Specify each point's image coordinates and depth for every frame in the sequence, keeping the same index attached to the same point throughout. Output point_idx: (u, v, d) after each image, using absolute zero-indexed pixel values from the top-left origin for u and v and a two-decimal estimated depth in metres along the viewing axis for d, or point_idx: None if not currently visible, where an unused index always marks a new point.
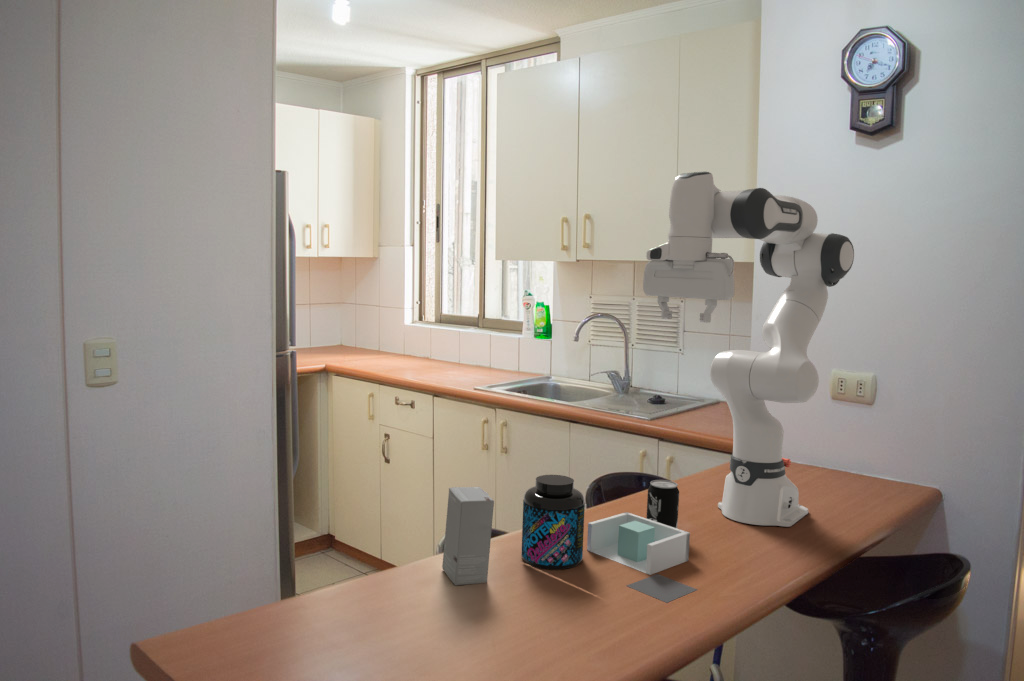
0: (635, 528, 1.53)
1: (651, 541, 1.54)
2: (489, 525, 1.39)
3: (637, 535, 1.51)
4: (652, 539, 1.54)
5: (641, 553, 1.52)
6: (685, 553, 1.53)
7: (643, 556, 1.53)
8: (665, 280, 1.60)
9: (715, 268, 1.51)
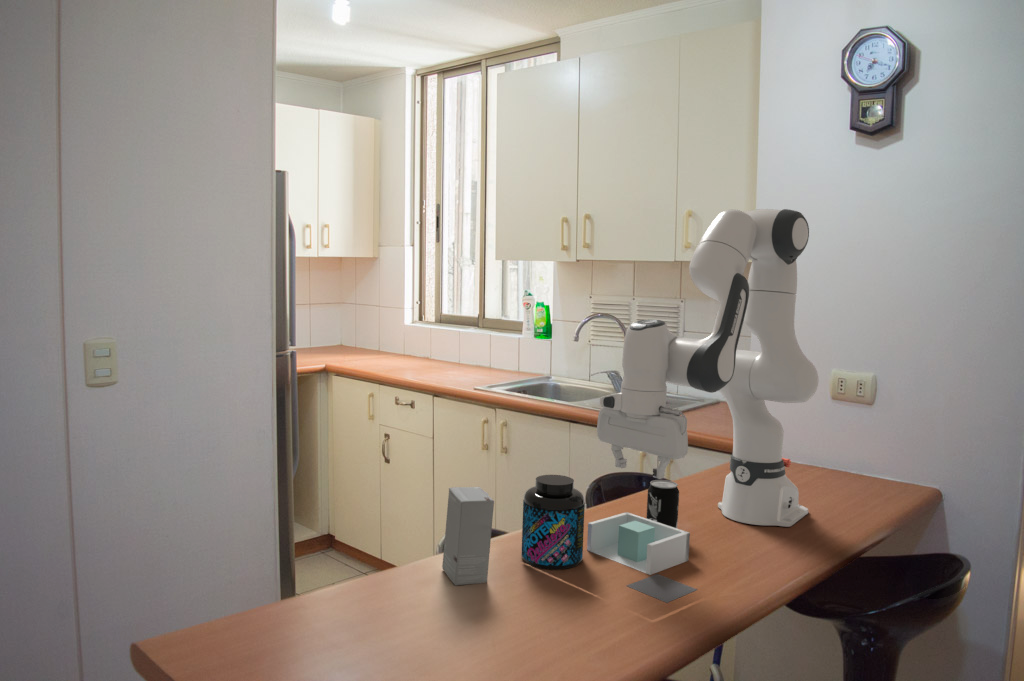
0: (635, 528, 1.53)
1: (651, 541, 1.54)
2: (489, 525, 1.39)
3: (637, 535, 1.51)
4: (652, 539, 1.54)
5: (641, 553, 1.52)
6: (685, 553, 1.53)
7: (643, 556, 1.53)
8: (618, 429, 1.55)
9: (668, 426, 1.46)
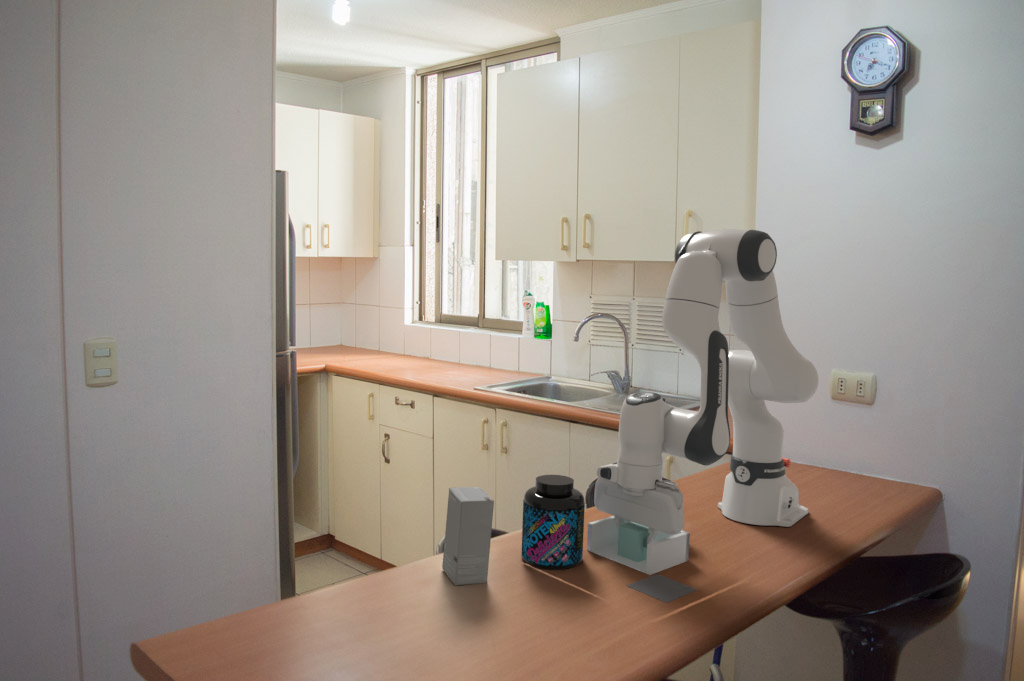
0: (635, 528, 1.53)
1: None
2: (489, 525, 1.39)
3: (637, 535, 1.51)
4: None
5: (641, 553, 1.52)
6: (685, 553, 1.53)
7: (643, 556, 1.53)
8: (615, 500, 1.56)
9: (664, 501, 1.47)
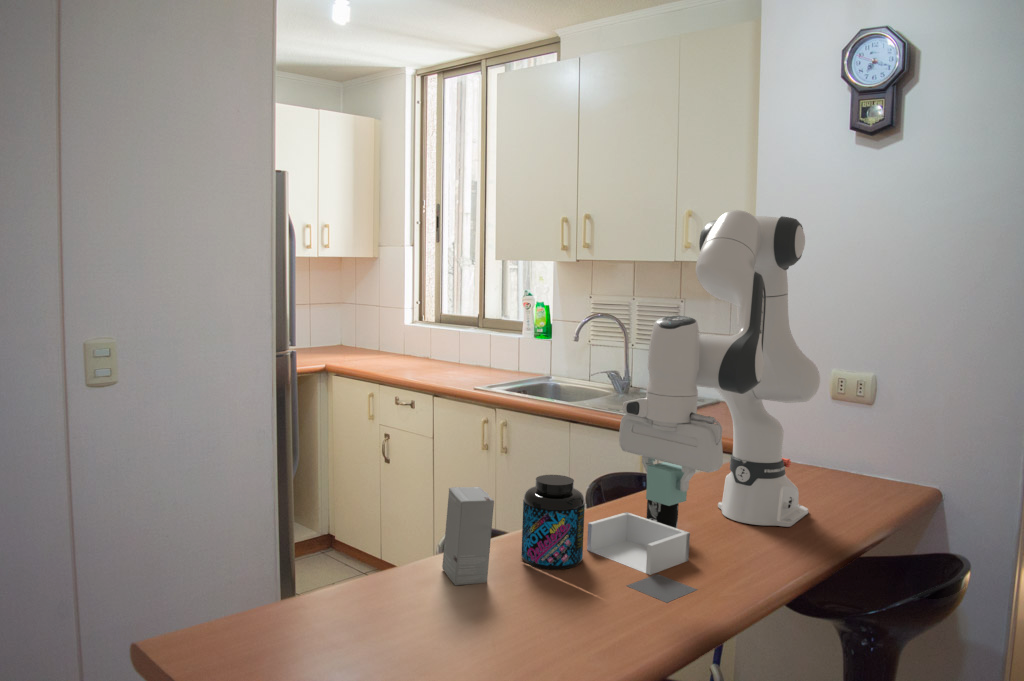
0: (666, 468, 1.37)
1: None
2: (489, 525, 1.39)
3: (668, 475, 1.35)
4: None
5: (673, 496, 1.35)
6: (685, 553, 1.53)
7: (675, 499, 1.36)
8: (644, 438, 1.39)
9: (700, 435, 1.30)
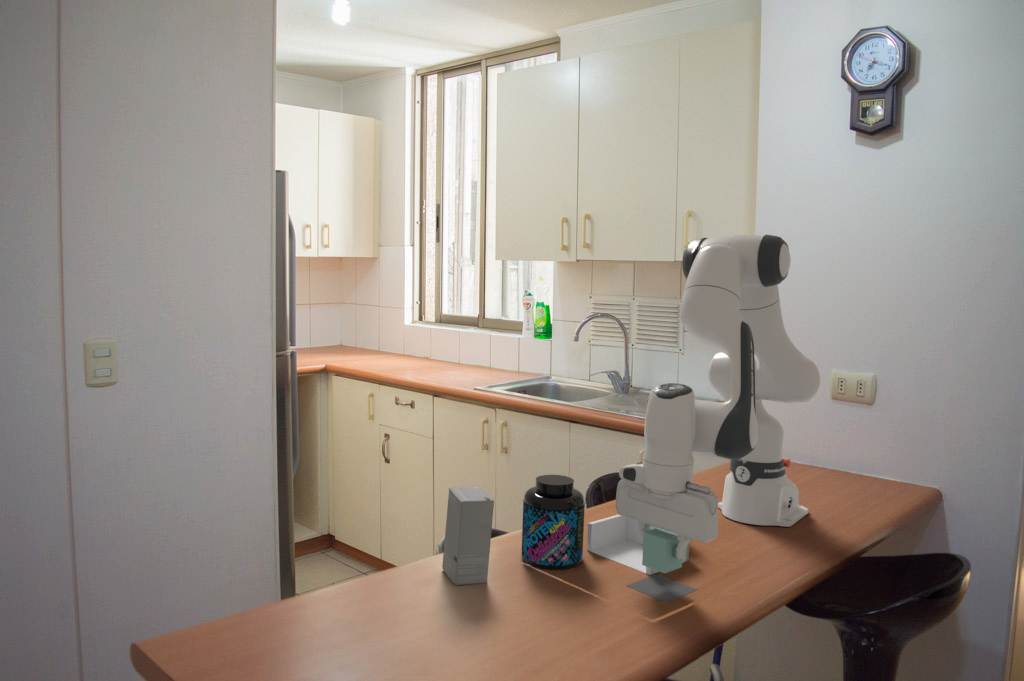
0: (662, 535, 1.38)
1: None
2: (489, 525, 1.39)
3: (664, 543, 1.36)
4: None
5: (669, 564, 1.36)
6: (685, 553, 1.53)
7: (671, 567, 1.37)
8: (640, 504, 1.40)
9: (696, 505, 1.31)
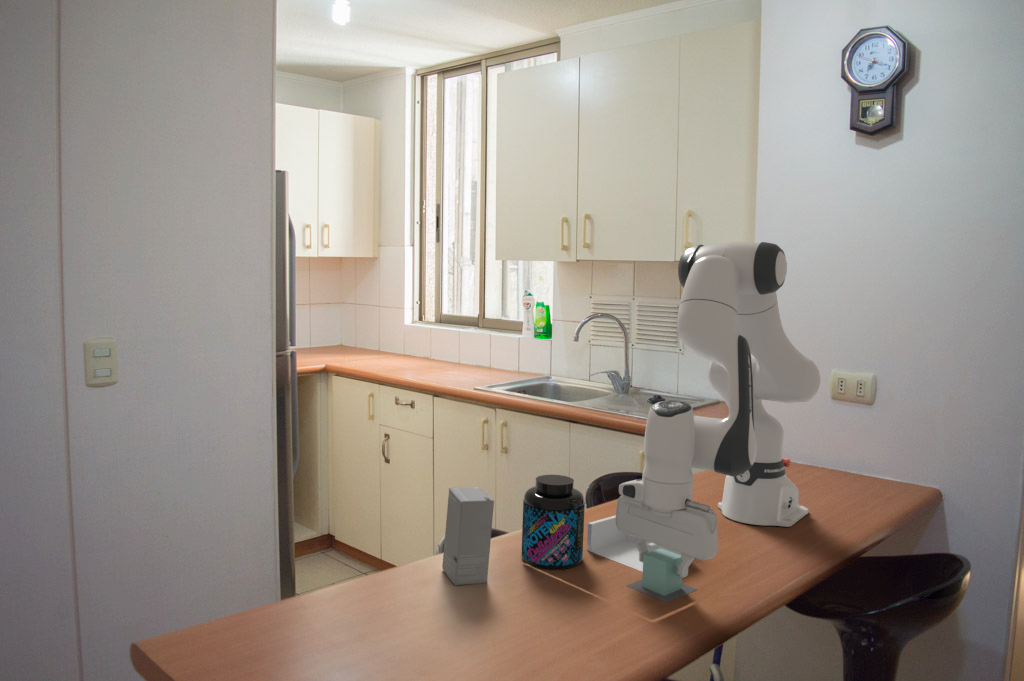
0: (662, 557, 1.38)
1: None
2: (489, 525, 1.39)
3: (664, 566, 1.36)
4: None
5: (669, 586, 1.37)
6: None
7: (671, 589, 1.38)
8: (640, 521, 1.41)
9: (696, 523, 1.32)
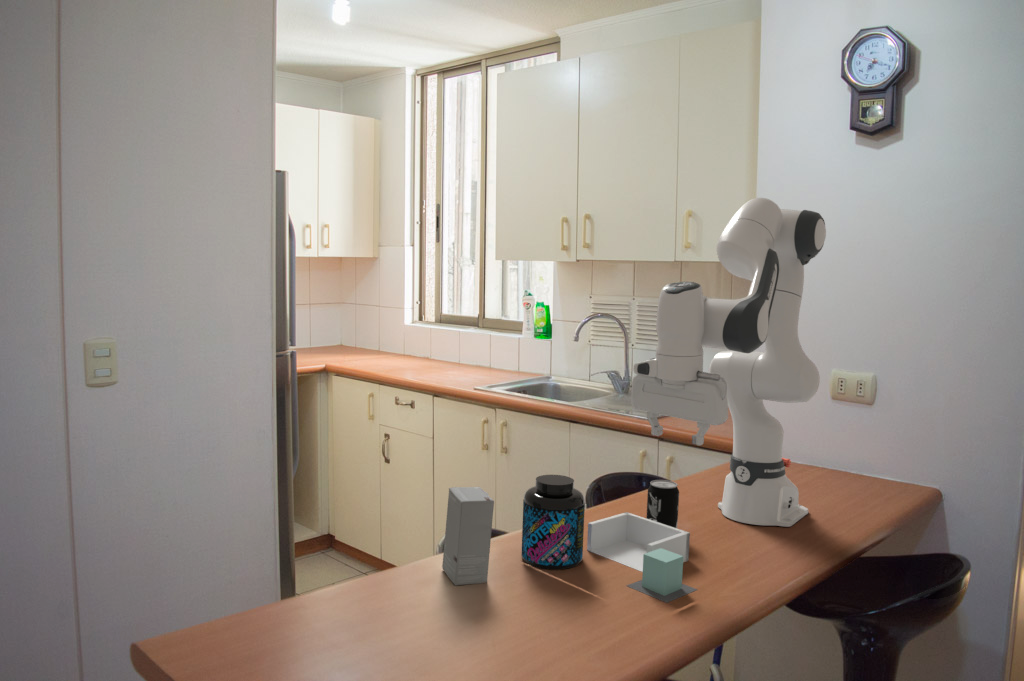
0: (662, 557, 1.38)
1: (679, 572, 1.39)
2: (489, 525, 1.39)
3: (664, 566, 1.36)
4: (680, 569, 1.39)
5: (669, 586, 1.37)
6: (685, 553, 1.53)
7: (671, 589, 1.38)
8: (654, 396, 1.50)
9: (707, 391, 1.41)
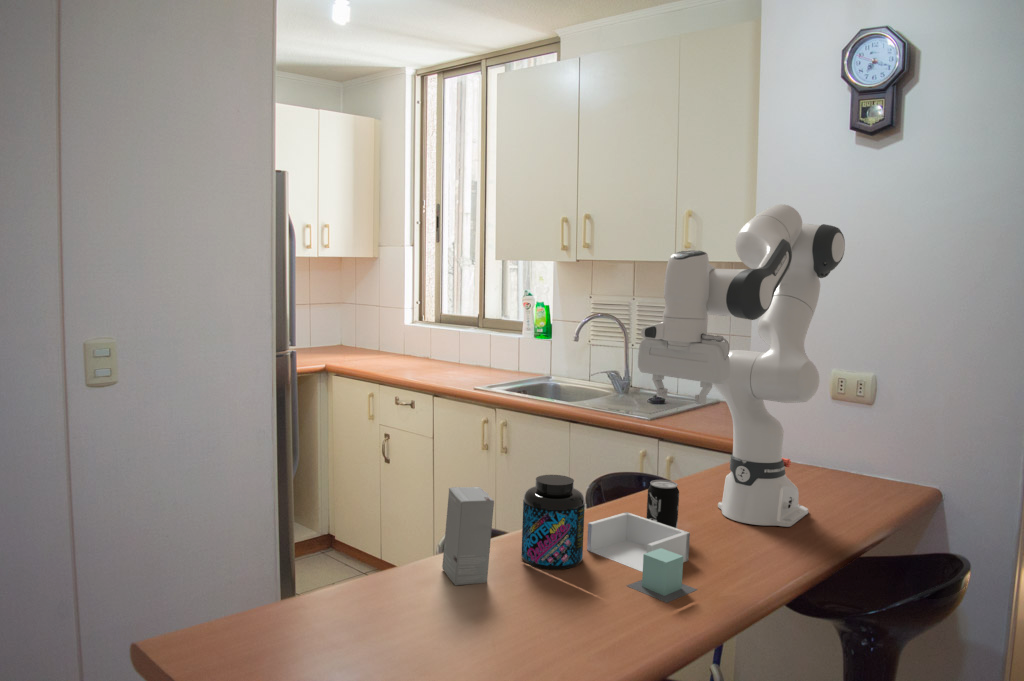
0: (662, 557, 1.38)
1: (679, 572, 1.39)
2: (489, 525, 1.39)
3: (664, 566, 1.36)
4: (680, 569, 1.39)
5: (669, 586, 1.37)
6: (685, 553, 1.53)
7: (671, 589, 1.38)
8: (660, 359, 1.58)
9: (710, 351, 1.49)
